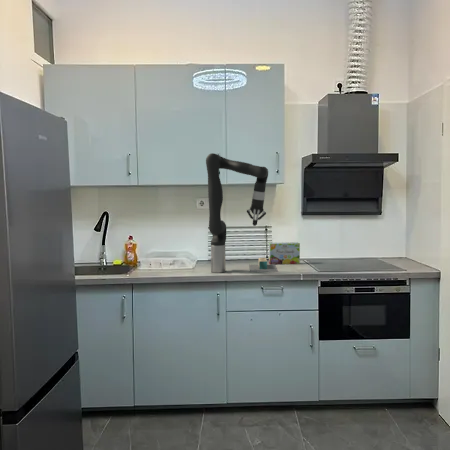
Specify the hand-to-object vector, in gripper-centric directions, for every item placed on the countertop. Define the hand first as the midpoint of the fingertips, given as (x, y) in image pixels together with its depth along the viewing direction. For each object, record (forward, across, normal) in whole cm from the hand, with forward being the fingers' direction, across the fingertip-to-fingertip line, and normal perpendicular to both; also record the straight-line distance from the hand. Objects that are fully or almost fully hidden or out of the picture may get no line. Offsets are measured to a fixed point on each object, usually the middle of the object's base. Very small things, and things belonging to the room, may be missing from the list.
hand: (254, 225), depth 270 cm
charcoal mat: (+30, -10, -8) cm, 32 cm away
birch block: (+26, -9, -4) cm, 28 cm away
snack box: (+30, -26, -30) cm, 49 cm away
